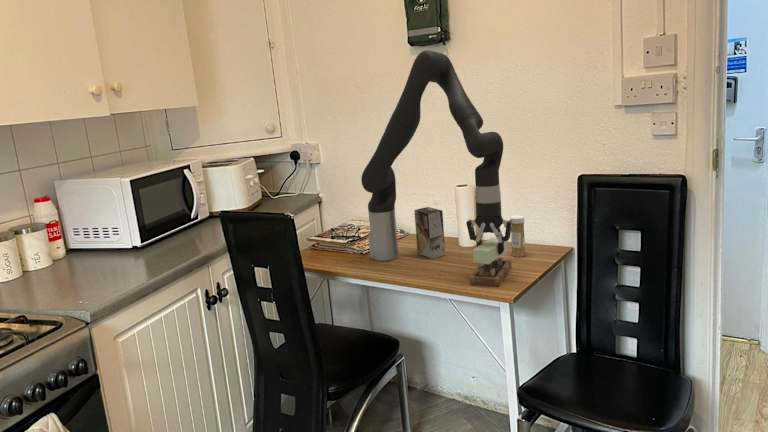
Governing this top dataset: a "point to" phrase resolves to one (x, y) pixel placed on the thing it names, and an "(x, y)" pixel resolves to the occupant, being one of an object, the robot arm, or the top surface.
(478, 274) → the peg frame
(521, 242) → the sprinkles bottle
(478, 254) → the pale green block
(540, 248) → the top surface
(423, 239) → the coffee box
